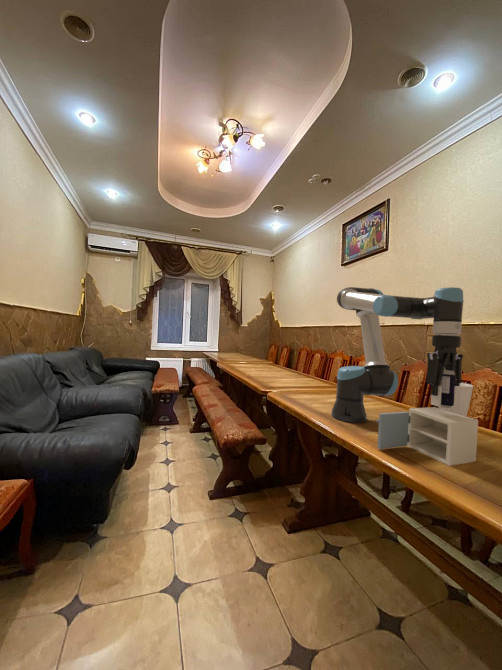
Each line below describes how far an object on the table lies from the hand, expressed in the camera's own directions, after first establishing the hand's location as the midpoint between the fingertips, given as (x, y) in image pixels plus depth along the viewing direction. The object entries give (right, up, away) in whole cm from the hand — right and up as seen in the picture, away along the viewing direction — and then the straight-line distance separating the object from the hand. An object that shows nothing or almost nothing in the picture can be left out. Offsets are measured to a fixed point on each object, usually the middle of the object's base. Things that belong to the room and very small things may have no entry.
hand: (442, 404), depth 85 cm
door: (-15, -15, +3) cm, 21 cm away
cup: (+12, -17, +12) cm, 24 cm away
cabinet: (-1, -16, 0) cm, 16 cm away
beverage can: (0, -1, 0) cm, 1 cm away
